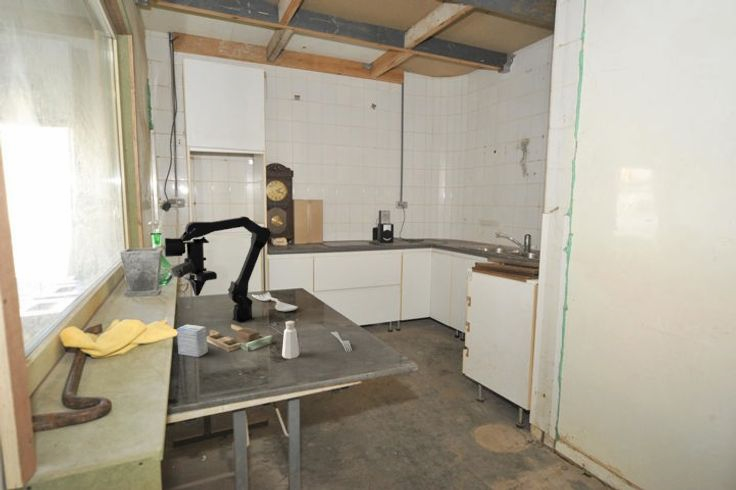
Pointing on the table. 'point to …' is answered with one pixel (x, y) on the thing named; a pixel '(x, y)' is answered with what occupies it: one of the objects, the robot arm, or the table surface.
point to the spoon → (279, 305)
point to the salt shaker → (290, 341)
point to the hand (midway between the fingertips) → (197, 295)
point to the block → (247, 335)
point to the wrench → (275, 327)
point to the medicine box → (192, 340)
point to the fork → (342, 341)
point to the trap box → (228, 342)
